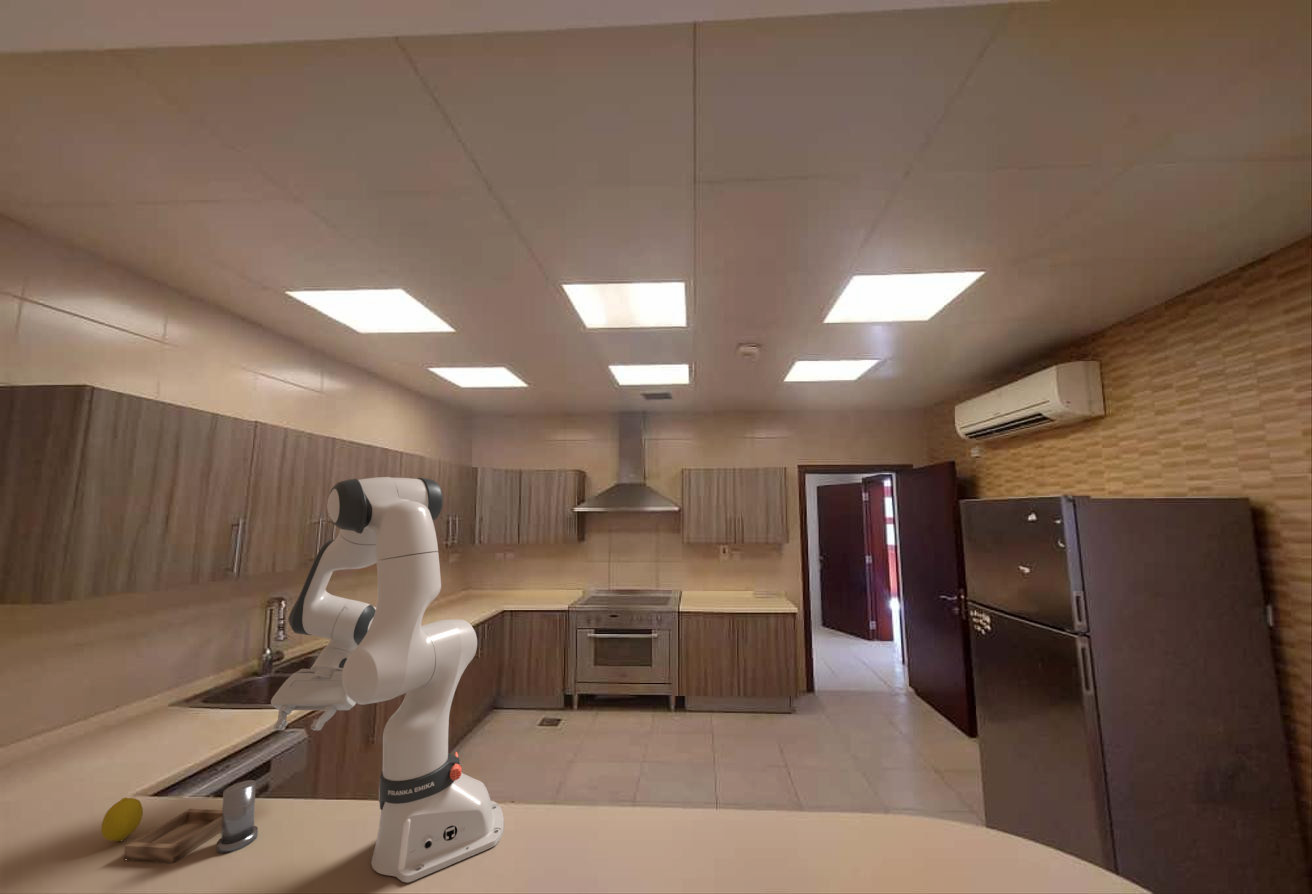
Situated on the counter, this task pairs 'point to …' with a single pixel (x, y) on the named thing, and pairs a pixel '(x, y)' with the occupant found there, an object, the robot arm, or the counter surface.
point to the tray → (176, 837)
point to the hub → (238, 817)
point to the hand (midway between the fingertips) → (296, 729)
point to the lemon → (122, 819)
